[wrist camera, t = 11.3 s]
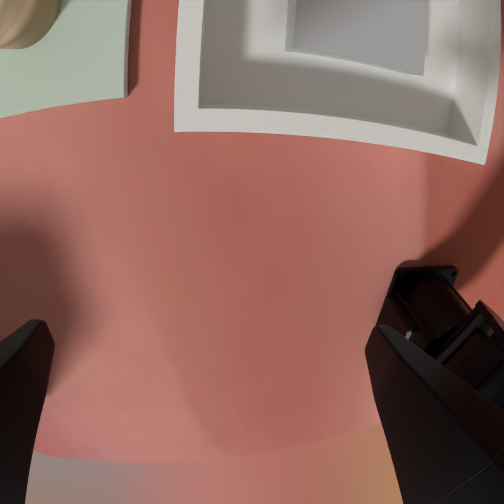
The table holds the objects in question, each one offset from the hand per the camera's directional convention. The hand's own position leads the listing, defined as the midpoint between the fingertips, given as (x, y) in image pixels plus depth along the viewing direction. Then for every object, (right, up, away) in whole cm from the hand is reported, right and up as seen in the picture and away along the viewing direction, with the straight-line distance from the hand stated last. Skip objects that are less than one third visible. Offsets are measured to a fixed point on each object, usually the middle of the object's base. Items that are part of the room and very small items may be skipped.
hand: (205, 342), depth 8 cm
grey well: (+6, +16, +5) cm, 18 cm away
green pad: (-11, +16, +3) cm, 19 cm away
